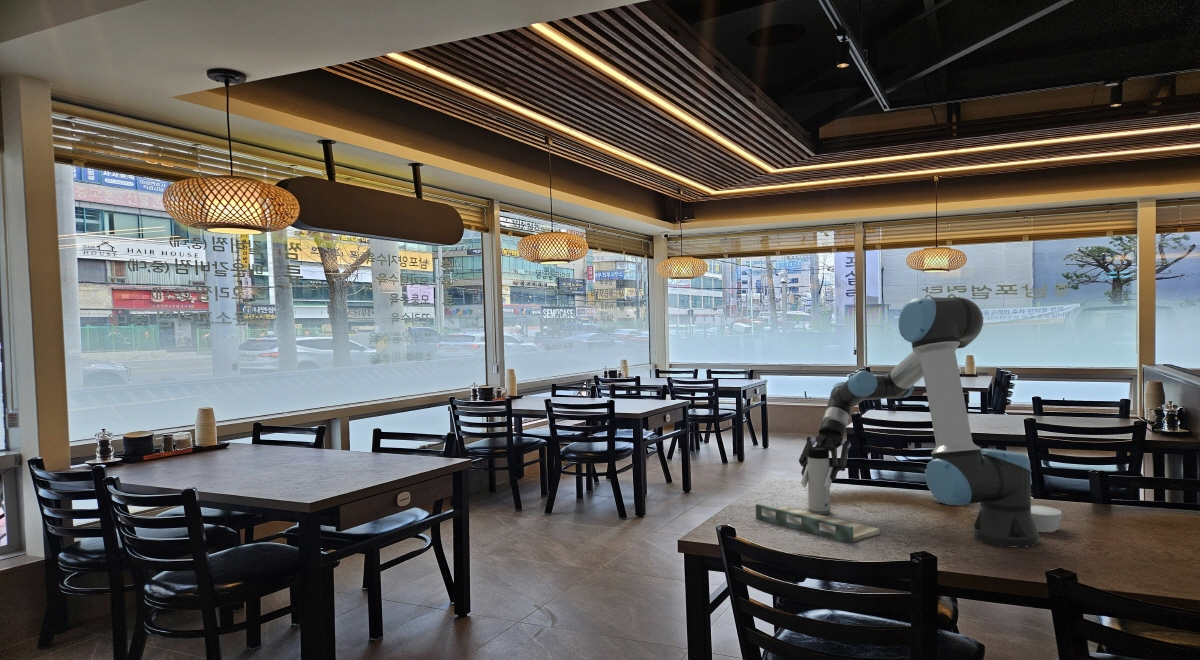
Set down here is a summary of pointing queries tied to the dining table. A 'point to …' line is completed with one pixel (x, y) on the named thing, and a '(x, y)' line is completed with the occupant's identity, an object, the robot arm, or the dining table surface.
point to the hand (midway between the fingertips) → (814, 486)
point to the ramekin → (1046, 518)
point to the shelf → (815, 523)
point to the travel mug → (818, 480)
